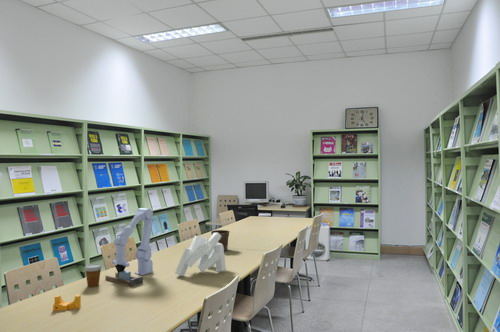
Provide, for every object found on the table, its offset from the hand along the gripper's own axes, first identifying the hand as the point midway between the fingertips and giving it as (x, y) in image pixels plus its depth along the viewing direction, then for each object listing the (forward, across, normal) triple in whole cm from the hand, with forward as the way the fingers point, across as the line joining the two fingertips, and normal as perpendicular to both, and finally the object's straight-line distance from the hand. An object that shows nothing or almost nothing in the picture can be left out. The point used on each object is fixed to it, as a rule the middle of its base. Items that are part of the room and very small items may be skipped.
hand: (120, 276), depth 244 cm
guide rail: (+3, +3, 0) cm, 4 cm away
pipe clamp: (+3, +17, -46) cm, 49 cm away
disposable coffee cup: (+3, -5, -16) cm, 17 cm away
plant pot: (+3, 0, +103) cm, 103 cm away
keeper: (+3, +4, 0) cm, 5 cm away
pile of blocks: (+3, +32, +43) cm, 54 cm away
